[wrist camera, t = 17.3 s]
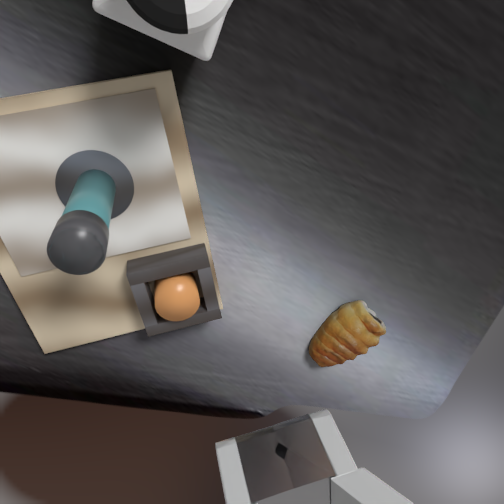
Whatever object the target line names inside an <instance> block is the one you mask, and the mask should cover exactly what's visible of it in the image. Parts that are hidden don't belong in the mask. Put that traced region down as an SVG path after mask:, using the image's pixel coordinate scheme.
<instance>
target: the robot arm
mask: <svg viewBox="0 0 504 504" xmlns="http://www.w3.org/2000/svg"><path fill="white" fill-rule="evenodd" d="M235 438H236V440H235ZM235 438H234V437H233V438H230V439H227V440H224V441H220V442H217V443H216V453H217V459H218V464H219V469H220V475H221V479H222V485H223V490H224V496H225V501H226V504H414V503H413V502H411V501H410V500H408V499H407V498H406V497H404V496H403V495H401V494H400V493H399V492H397V491H396V490H395V489H393V488H392V487H390V486H389V485H388V484H386V483H385V482H383V481H382V480H380V479H379V478H378V477H376V476H375V475H373V474H372V473H371V472H369V471H368V470H367V469H365V468H364V467H362V468H357V466H356V464H355V462H354V460H353V458H352V456H351V454H350V452H349V450H348V448H347V446H346V444H345V442H344V440H343V438H342V436H341V434H340V432H339V430H338V427H337V425H336V423H335V421H334V419H333V417H332V415H331V413H330V412H329V411H328V410H327V409H323V410H320V411H317V412H314V413H311V414H307V415H303V416H300V417H297V418H294V419H291V420H288V421H285V422H282V423H279V424H276V425H273V426H270V427H267V428H264V429H261V430H257V431H254V432H251V433H248V434H244V435H241V436H238V437H235ZM236 443H237V444H236ZM237 447H238V448H237Z"/></svg>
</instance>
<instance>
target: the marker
mask: <svg viewBox="0 0 504 504" xmlns="http://www.w3.org/2000/svg"><path fill="white" fill-rule="evenodd" d="M115 192H116V186H115V182H114V180H113V179H112V177H111V176H110V175H109V174H107V173H106V172H104V171H101V170H97V169H92V170H87V171H85V172H83V173H82V174H81V175H80V176H79V178H78V180H77V182H76V184H75V186H74V189H73V191H72V193H71V196H70V198H69V200H68V202H67V205H66V207H65V209H64V211H63V214H62V216H61V217H60V218H59V220H58V221H57V223H56V225H55V227H54V230H53V232H52V234H51V236H50V238H49V241H48V243H47V255H48V258H49V259H50V261H51V262H52V264H53V265H54V266H55V267H56V268H58V269H59V270H61V271H63V272H65V273H68V274H72V275H84V274H89V273H91V272H94V271H95V270H97V269H98V268H99V267H100V266H101V265H102V264H103V262H104V260H105V258H106V252H107V246H108V240H109V225H110V220H111V214H112V208H113V203H114V197H115Z"/></svg>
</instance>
